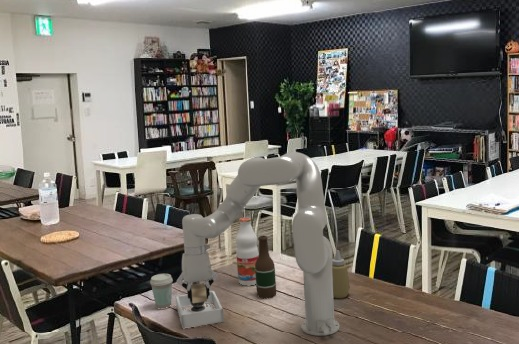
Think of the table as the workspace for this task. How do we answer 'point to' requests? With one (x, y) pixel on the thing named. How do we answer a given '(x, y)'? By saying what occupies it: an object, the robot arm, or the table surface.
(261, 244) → the beer bottle
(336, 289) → the squeeze bottle
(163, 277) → the coffee cup
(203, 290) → the beech cube
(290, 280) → the table surface
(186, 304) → the tote
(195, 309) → the chess piece
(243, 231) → the fruit juice
